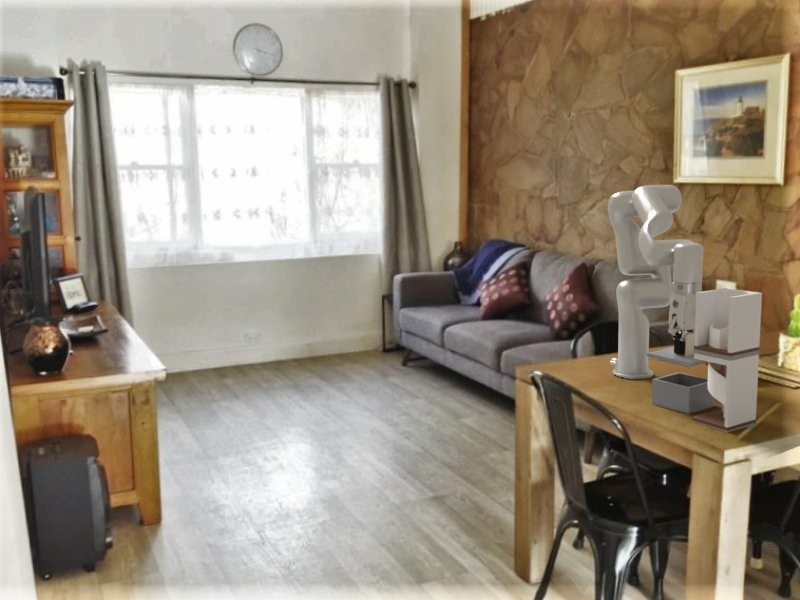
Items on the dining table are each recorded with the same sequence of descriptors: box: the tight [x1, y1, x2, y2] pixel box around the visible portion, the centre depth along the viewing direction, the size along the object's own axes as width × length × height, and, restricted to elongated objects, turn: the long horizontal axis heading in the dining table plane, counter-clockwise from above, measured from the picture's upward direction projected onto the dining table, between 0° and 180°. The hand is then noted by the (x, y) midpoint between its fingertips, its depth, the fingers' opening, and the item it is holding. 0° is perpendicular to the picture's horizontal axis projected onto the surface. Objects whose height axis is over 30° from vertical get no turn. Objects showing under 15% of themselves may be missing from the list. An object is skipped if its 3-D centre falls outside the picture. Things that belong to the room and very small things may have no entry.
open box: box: [651, 371, 717, 415], centre depth 214 cm, size 12×12×8 cm
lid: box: [647, 331, 708, 368], centre depth 213 cm, size 14×14×8 cm
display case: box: [691, 287, 763, 433], centre depth 196 cm, size 11×11×35 cm
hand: (684, 352), depth 213 cm, fingers closed on lid, 3 cm apart
